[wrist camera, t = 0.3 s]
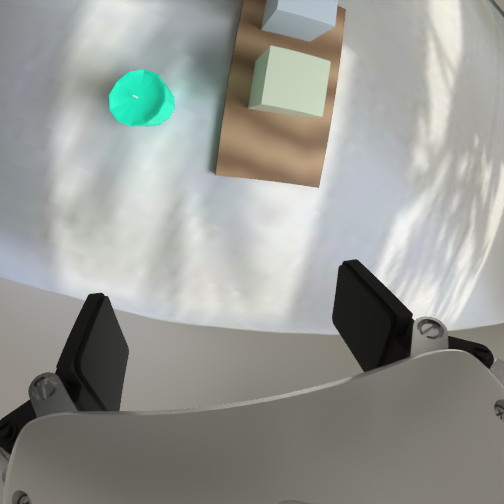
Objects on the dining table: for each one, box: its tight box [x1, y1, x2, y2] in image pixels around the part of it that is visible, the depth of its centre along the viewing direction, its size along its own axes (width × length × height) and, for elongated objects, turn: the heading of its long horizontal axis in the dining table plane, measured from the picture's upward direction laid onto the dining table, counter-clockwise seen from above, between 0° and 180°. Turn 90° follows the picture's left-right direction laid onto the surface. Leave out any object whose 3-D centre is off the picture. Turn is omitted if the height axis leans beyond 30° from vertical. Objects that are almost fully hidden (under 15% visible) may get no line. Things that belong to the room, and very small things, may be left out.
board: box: [215, 0, 346, 188], centre depth 32 cm, size 30×15×2 cm, turn 171°
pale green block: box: [248, 46, 331, 118], centre depth 29 cm, size 7×7×8 cm
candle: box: [109, 70, 175, 126], centre depth 26 cm, size 6×6×12 cm
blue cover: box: [261, 0, 338, 42], centre depth 24 cm, size 7×7×8 cm
